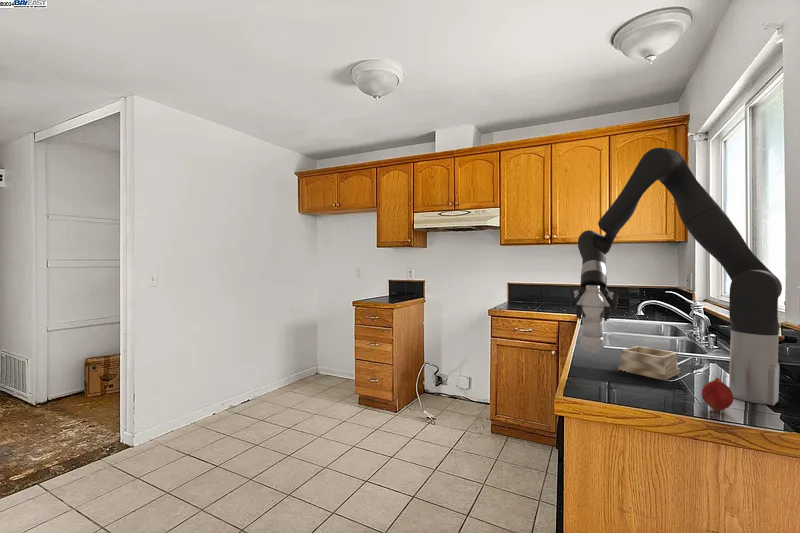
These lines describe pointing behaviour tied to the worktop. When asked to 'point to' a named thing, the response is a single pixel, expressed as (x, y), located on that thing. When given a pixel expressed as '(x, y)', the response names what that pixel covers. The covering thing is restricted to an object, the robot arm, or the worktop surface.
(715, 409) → the onion
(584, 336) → the silver bottle
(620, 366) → the wooden tray
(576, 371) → the worktop surface
